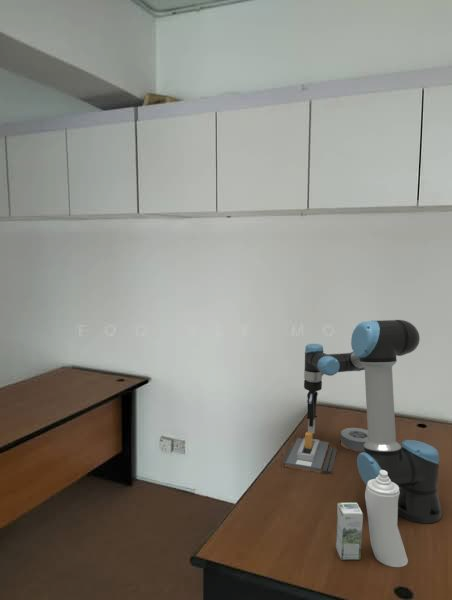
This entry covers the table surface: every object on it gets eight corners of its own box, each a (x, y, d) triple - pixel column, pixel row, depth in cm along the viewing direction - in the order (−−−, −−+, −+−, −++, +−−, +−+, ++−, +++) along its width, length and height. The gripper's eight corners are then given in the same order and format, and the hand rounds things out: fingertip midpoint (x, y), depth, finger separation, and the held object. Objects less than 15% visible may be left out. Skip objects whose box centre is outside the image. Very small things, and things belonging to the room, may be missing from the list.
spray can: (378, 571, 126) (382, 485, 123) (356, 547, 136) (360, 466, 133) (414, 564, 129) (419, 479, 126) (390, 541, 139) (394, 462, 136)
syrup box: (354, 547, 136) (356, 501, 134) (361, 561, 130) (363, 512, 128) (335, 547, 136) (337, 501, 134) (341, 561, 130) (342, 512, 128)
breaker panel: (331, 475, 179) (331, 464, 179) (281, 466, 186) (281, 456, 185) (337, 448, 204) (338, 438, 203) (294, 441, 210) (294, 432, 210)
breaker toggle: (311, 453, 193) (311, 435, 192) (304, 452, 194) (305, 434, 193) (312, 450, 196) (312, 432, 195) (305, 449, 197) (306, 431, 196)
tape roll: (382, 449, 203) (383, 438, 203) (354, 454, 198) (354, 443, 197) (360, 436, 218) (361, 425, 217) (333, 440, 212) (333, 430, 211)
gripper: (319, 385, 191) (317, 439, 194) (323, 376, 203) (321, 428, 206) (301, 383, 193) (299, 436, 196) (306, 375, 205) (305, 425, 208)
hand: (311, 432), depth 201 cm, fingers closed
